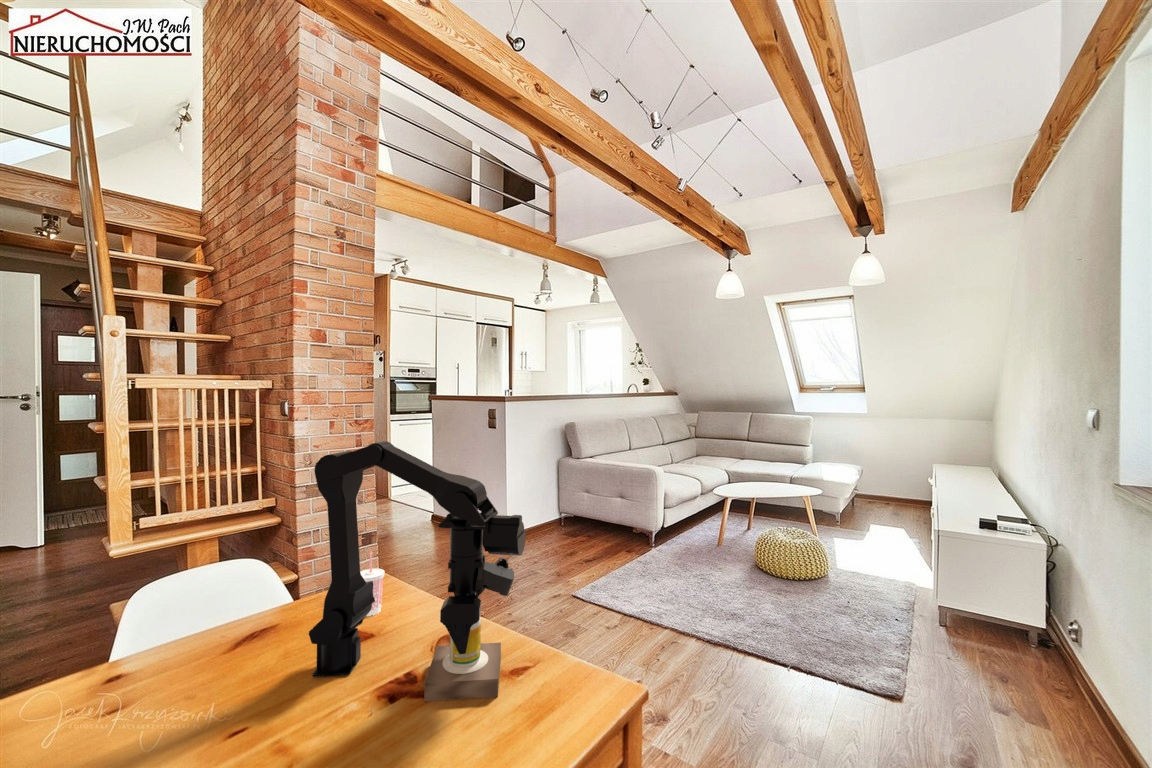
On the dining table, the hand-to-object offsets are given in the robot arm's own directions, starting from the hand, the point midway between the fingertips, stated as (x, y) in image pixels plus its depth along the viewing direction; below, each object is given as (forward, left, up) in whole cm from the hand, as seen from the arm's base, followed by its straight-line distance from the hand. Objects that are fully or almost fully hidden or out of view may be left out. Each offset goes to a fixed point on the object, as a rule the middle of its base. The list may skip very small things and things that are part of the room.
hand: (465, 639), depth 87 cm
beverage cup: (-25, +29, -7) cm, 39 cm away
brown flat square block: (0, 0, -7) cm, 7 cm away
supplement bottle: (0, 0, -4) cm, 4 cm away
